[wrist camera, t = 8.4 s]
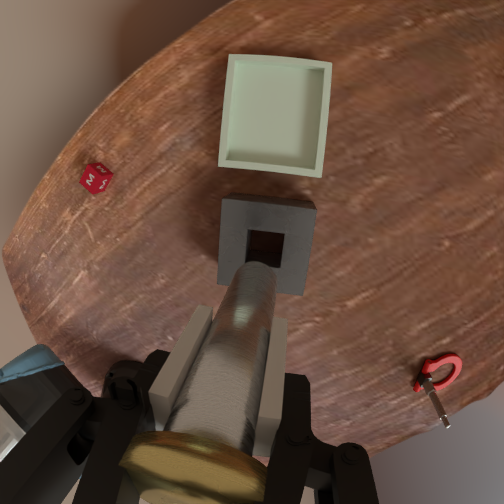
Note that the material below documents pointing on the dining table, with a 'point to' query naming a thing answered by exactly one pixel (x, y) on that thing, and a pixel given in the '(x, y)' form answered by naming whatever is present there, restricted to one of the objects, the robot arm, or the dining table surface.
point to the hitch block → (271, 220)
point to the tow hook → (431, 388)
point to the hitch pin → (214, 408)
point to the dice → (96, 178)
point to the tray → (275, 114)
